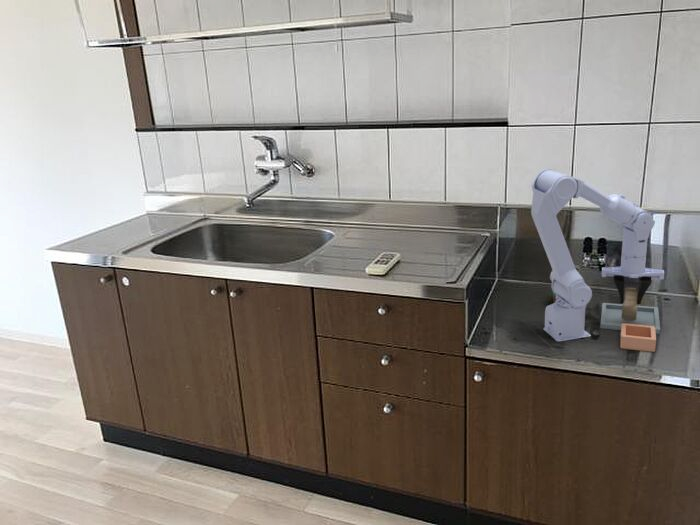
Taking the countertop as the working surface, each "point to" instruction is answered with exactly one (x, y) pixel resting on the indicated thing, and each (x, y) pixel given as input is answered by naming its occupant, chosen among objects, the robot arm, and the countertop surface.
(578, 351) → the countertop surface
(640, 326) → the terracotta square open box
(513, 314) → the countertop surface
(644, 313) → the slate tray
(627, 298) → the beech dowel
